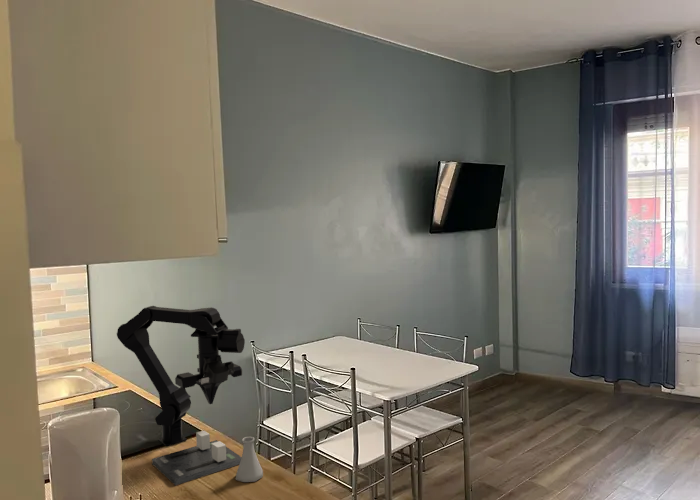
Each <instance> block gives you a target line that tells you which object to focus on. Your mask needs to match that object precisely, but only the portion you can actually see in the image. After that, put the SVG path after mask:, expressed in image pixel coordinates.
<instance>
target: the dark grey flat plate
mask: <svg viewBox="0 0 700 500" xmlns="http://www.w3.org/2000/svg"><path fill="white" fill-rule="evenodd" d="M215 442H218V440H216V439H215V440H213V441H210V448H208V449H205V450H201V449H200V448H198V447H197V445H195V446H192V447H188V448H185V449H181V450H178V451H175V452H171V453H168V454H164V455H160V456H157V457H154V458H151V465H152V466H154V467H155V468H156V469H157V470H158V471H159V472H160V473H161V474H162V475H163V476H164V477H166V478H167V479H168V481H170V482H171V483H172V484H173V485H174V486H179V485H181V484H184V483H187V482H190V481H193V480H196V479H201V478H202V477H206V476H209V475H211V474H214V473H217V472H220V471H223V470H227V469H230V468H233V467H236V466H239V464H240V461H241V458H242V455H239V454H237V453H236V452H235V451H234V450H232V449H230V448H229V447H227V446H226V460H224V461H220V462H217V461H216V460H214V459H213V458H212V443H215Z"/></svg>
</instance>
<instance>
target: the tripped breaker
mask: <svg viewBox="0 0 700 500" xmlns="http://www.w3.org/2000/svg"><path fill="white" fill-rule="evenodd" d="M195 434H196V435H195V438H196V439H195V440H196V446H197V447H198V448H200V449H201V450H205V449H208V448H210V442H211V437H210V436H211V435H210V433H209V432H207V431H206V430H201V431H196V433H195Z"/></svg>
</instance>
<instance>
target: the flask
mask: <svg viewBox="0 0 700 500" xmlns="http://www.w3.org/2000/svg"><path fill="white" fill-rule="evenodd" d="M241 443H242V444H243V446H242V447H243V449H242V455H241V457H242V458H241V461H240V464H239V465H238V468H237V471H236V474H235V481H238V482H242V483H249V482H250V483H251V482H257V481H258V480H260V479H262V478H264V477H263V476H264V470H263V468H262V466H261V464H260V461H259V459H258V456H257V453H256V451H255V446H254V443H255V437H254V436H245V437H243V438H242V439H241Z"/></svg>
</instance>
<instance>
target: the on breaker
mask: <svg viewBox="0 0 700 500" xmlns="http://www.w3.org/2000/svg"><path fill="white" fill-rule="evenodd" d="M217 441H218V440H217ZM226 447H227V445H226V444H225V443H223V442H222V441H220V440H219V441H218V442H215V443H212V458H213V459H214V460H216V461H217V462H220V461H224V460H226Z"/></svg>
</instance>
